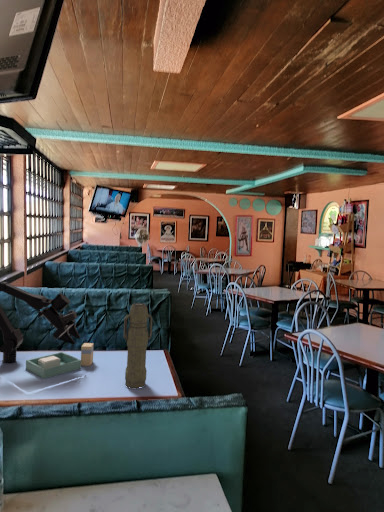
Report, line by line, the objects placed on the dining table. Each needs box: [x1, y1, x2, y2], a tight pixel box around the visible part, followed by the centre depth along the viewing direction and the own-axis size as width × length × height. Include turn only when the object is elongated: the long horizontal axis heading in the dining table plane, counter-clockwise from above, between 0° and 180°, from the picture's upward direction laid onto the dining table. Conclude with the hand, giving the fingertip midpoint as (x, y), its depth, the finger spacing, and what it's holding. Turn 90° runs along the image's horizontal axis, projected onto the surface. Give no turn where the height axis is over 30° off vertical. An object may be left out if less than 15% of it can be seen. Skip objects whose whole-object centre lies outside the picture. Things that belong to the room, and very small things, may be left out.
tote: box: [25, 351, 82, 379], centre depth 166 cm, size 16×18×4 cm
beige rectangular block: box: [38, 356, 60, 369], centre depth 168 cm, size 6×8×3 cm
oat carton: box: [80, 342, 94, 367], centre depth 174 cm, size 4×6×10 cm
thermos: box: [123, 302, 153, 389], centre depth 153 cm, size 9×12×35 cm
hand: (77, 340), depth 173 cm, fingers open, 9 cm apart
